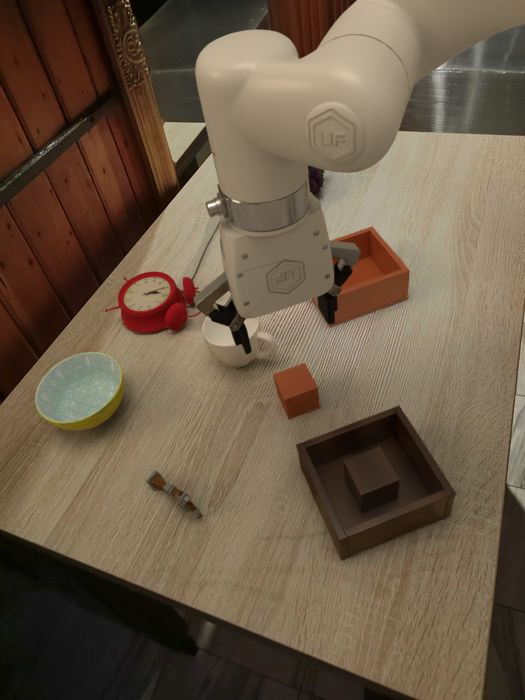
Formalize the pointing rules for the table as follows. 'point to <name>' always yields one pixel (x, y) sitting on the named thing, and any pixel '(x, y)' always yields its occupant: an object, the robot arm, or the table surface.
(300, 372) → the terracotta block
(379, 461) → the walnut block
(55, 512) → the table surface
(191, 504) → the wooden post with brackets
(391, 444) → the walnut bin
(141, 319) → the alarm clock
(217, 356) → the cup
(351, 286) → the terracotta bin
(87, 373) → the bowl
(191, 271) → the butter knife
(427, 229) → the table surface
